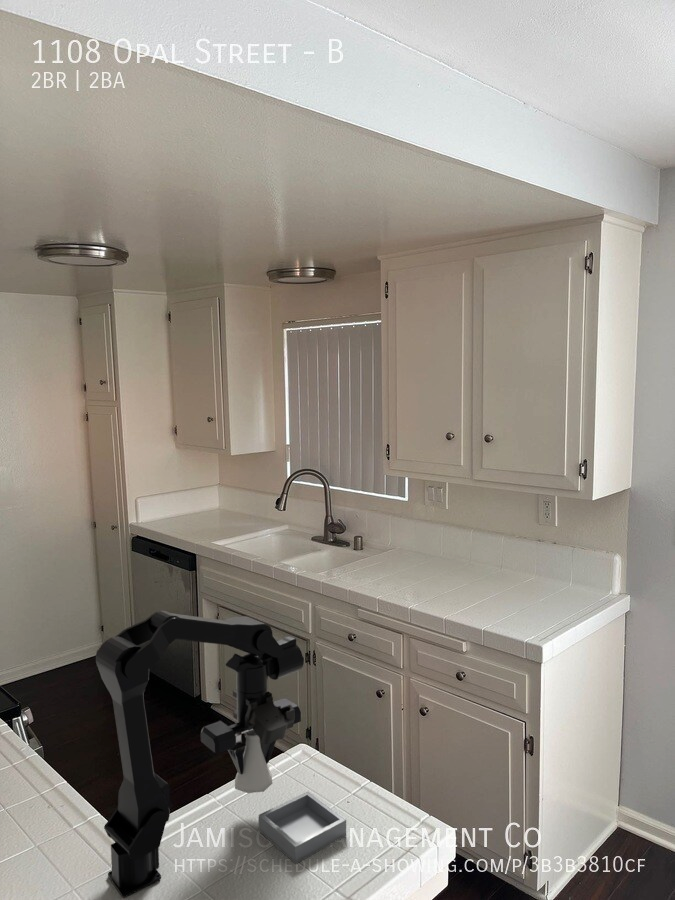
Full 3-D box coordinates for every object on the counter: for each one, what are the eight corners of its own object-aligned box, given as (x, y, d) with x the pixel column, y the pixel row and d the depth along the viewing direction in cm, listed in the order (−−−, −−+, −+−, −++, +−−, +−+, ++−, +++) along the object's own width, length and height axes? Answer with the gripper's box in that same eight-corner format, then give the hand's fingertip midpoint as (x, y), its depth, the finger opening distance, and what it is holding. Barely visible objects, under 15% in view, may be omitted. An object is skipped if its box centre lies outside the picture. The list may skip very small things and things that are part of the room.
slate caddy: (295, 863, 114) (295, 846, 114) (258, 830, 122) (258, 814, 122) (346, 835, 121) (346, 819, 121) (308, 806, 129) (308, 791, 129)
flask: (267, 796, 123) (266, 743, 122) (228, 792, 124) (227, 739, 123) (277, 774, 130) (276, 723, 129) (240, 770, 131) (239, 720, 130)
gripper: (230, 719, 113) (232, 808, 115) (319, 687, 125) (319, 768, 126) (198, 695, 122) (200, 779, 123) (284, 668, 134) (284, 744, 135)
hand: (253, 768), depth 127 cm, fingers closed on flask, 5 cm apart
